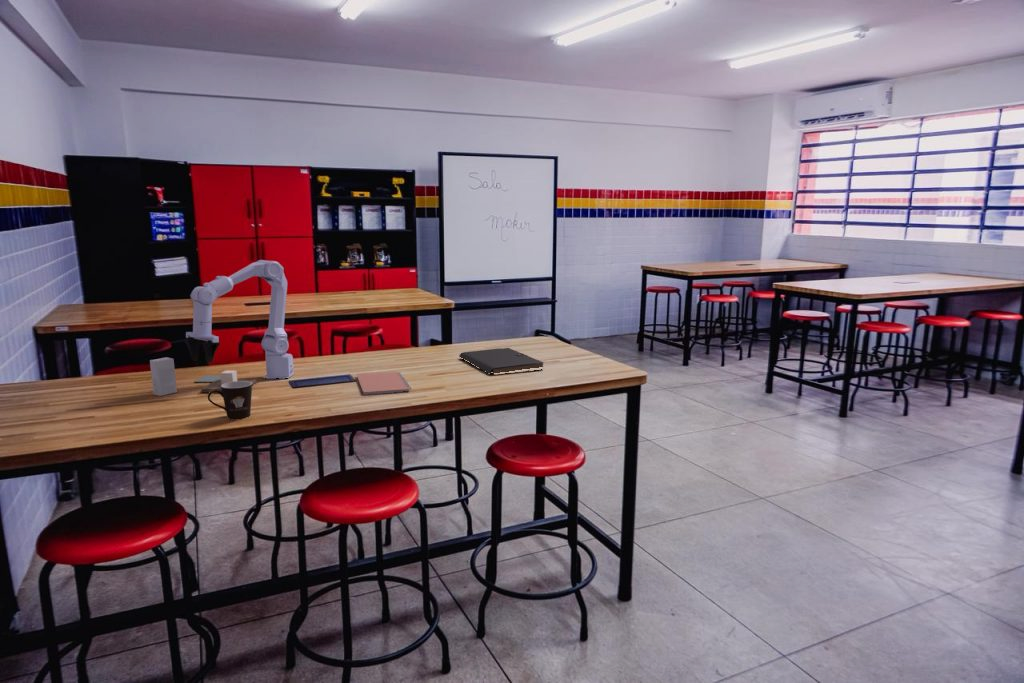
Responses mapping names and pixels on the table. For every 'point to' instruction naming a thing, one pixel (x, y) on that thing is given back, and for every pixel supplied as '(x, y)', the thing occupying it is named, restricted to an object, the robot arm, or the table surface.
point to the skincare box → (163, 376)
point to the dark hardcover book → (500, 360)
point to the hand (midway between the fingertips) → (201, 360)
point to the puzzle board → (219, 385)
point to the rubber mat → (208, 379)
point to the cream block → (228, 376)
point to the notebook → (382, 383)
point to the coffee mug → (235, 399)
